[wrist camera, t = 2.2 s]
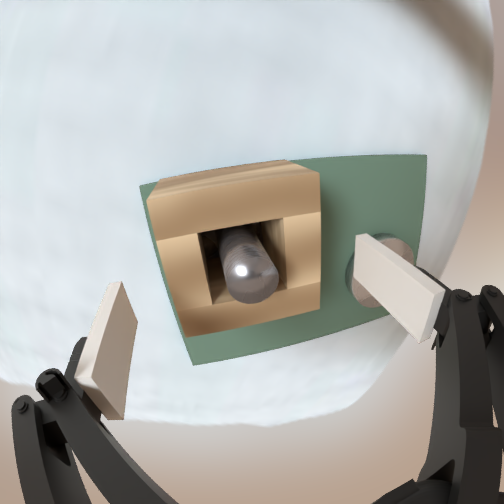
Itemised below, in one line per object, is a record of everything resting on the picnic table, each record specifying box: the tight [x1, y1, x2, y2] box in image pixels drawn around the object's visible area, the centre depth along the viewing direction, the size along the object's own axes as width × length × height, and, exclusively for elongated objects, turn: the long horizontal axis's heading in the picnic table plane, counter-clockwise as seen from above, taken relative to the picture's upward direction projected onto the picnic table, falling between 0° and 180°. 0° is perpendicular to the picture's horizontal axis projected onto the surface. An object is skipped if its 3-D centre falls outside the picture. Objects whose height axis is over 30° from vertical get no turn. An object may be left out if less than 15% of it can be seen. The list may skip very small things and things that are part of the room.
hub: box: [345, 233, 414, 308], centre depth 25 cm, size 8×8×8 cm
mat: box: [139, 155, 427, 366], centre depth 26 cm, size 20×28×1 cm
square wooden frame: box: [146, 160, 321, 338], centre depth 18 cm, size 9×9×6 cm
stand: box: [201, 222, 279, 304], centre depth 18 cm, size 7×7×10 cm
